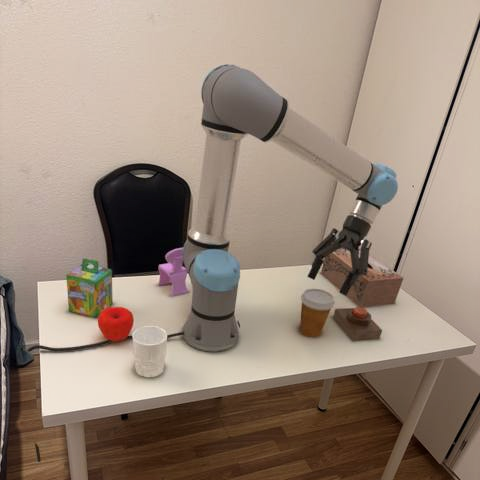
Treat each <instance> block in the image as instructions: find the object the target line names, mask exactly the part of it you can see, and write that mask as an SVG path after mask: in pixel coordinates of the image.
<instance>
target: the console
mask: <svg viewBox="0 0 480 480" xmlns="http://www.w3.org/2000/svg"><path fill="white" fill-rule="evenodd" d="M354 308H355V307H346V308H344V307H343V308H334V312H333V316H332V317H333V319H334V320H335V322H336V323H337V324H338V325H339V327H340V328H341V329H342V330H343V331H344V332H345V334H346V335H347V336H348V337H349V338H350V339H351V341H352V342H358V341H371V340H380V338H381V335H382V332H383V329H382V328H381V327H380V326H379V325H378V324H377V323H376V322H375V321H374V320H373V319H372V315H371V314H370V312H369V311H368V312H367V316H366V318H358V317H356V316H354V315H353V311H354Z"/></svg>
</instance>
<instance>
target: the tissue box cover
mask: <svg viewBox="0 0 480 480" xmlns="http://www.w3.org/2000/svg"><path fill="white" fill-rule="evenodd" d="M360 252H361V246H359V261H360ZM323 259H324V260H323V261H324V262H323V264H322V266H321V270H320V274H321V275H322V276H324V278H326V279H327V280H328V281H329V282H330V283H331V284H333V285H334V286H335V287H336V288H337V289H338V290H340V289H341V288H342V286H343V284H344V282H345V280H346V278H347V276H348V274H349V272H351V271H352V272H353V270H352V262H351V254H350V251H348V250H346V249H343V248H341V249H337V250H336V251H334V252H333V253H331V254H329V255H328V256H326V257H325V258H323ZM352 272H351V273H352ZM403 281H404V277H403V276H402V275H400V274H399V273H397V271H395V270H393V269H391V268H390V267H389V266H387V265H386V264H385V263H383V262H382V261H381V260H379V259H377V257H375V256H374V255H372V254H371V253H369V258H368V269H367V275H366V276H364V275H360V276H359V277H358V279H357V280H356V282H355V284H354V285H353V286H351V288H350V290H349V291H348V293H347V295H346V297H348V298H349V299H350V301H352V302H353V303H355V304H356V305H357V307H362V308H367V307H377V306H384V305H385V306H386V305H395V304H396V300H397V298H398V296H399V292H400V289H401V287H402V283H403Z"/></svg>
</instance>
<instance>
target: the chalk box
mask: <svg viewBox="0 0 480 480" xmlns="http://www.w3.org/2000/svg"><path fill="white" fill-rule="evenodd" d="M65 278H66V291H67V302H68V303H67V305H68V312H73V313H75V314H81V315H84V316H88V317H92V318H96V319H98V317H99V315H100V313H101V312H102V311H103V310H104V309H106V308H109V307H112V305H113V303H114V302H113V301H114V300H113V270H112V269H111V268H108V267H104V266H99V261H98V260H95V259H90V258H82V261H81V264H80V265H78V266H77V267H76V268H74V269H73V270H71V271H70V272H69V273H67V274H66V275H65Z"/></svg>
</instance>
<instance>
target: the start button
mask: <svg viewBox="0 0 480 480" xmlns="http://www.w3.org/2000/svg"><path fill="white" fill-rule="evenodd" d="M353 308H354V311H353V315H354V316H356V317H358V318H366V316H367V312H368V313H369V311H368V310H367V309H366V308H365V307H359V306H355V307H353Z"/></svg>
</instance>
